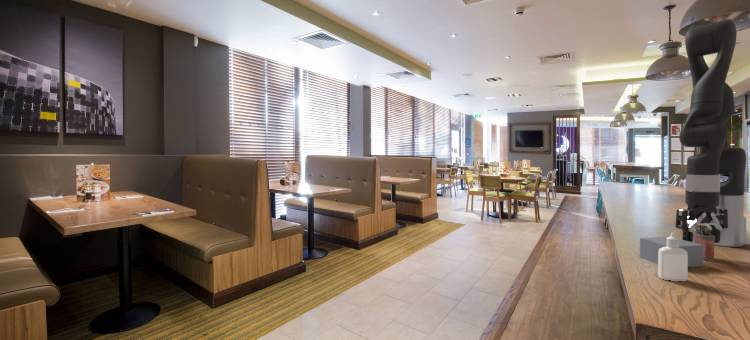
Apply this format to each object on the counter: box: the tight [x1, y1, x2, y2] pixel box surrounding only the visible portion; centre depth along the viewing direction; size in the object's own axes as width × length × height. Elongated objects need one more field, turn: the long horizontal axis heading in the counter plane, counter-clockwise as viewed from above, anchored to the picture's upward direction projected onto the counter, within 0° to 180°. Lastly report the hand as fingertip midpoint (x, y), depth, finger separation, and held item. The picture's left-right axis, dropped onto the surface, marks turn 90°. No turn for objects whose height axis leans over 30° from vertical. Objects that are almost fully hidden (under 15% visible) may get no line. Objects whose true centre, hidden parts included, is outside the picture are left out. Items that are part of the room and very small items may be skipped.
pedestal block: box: [639, 236, 704, 268], centre depth 100 cm, size 10×10×6 cm
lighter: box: [691, 224, 716, 263], centre depth 103 cm, size 8×3×10 cm, turn 168°
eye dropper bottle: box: [657, 232, 689, 282], centre depth 86 cm, size 4×6×12 cm
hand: (701, 242), depth 102 cm, fingers open, 8 cm apart
